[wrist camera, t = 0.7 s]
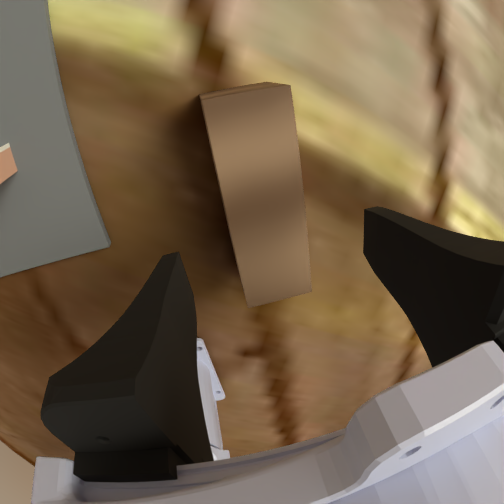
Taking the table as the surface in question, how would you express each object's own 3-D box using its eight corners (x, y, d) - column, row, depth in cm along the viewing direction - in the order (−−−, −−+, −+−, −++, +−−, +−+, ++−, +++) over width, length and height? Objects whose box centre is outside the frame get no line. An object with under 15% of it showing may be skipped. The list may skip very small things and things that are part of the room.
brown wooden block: (289, 249, 24) (311, 291, 20) (236, 262, 24) (247, 308, 19) (265, 81, 17) (290, 85, 13) (198, 94, 17) (202, 100, 13)
